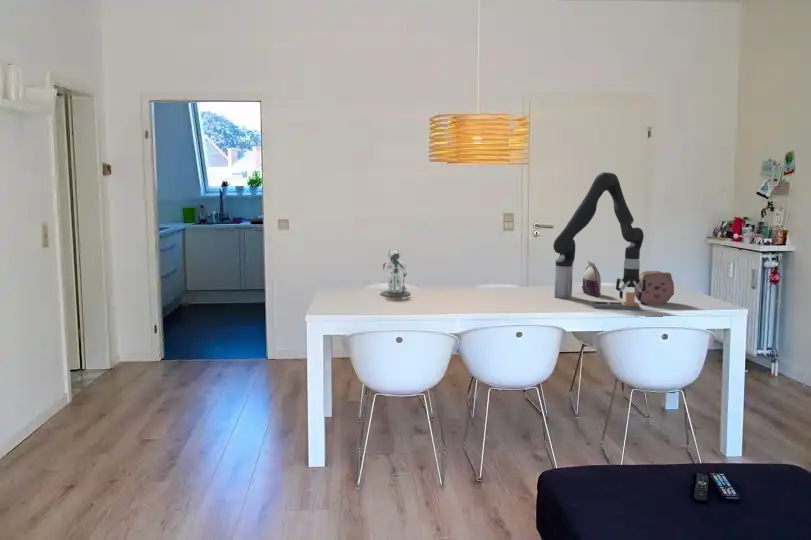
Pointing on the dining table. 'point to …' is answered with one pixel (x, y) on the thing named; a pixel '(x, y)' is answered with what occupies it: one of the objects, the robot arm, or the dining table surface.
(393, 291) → the figurine
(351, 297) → the dining table surface
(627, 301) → the block
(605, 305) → the rail
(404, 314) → the dining table surface
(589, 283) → the pouch
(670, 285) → the face sculpture
